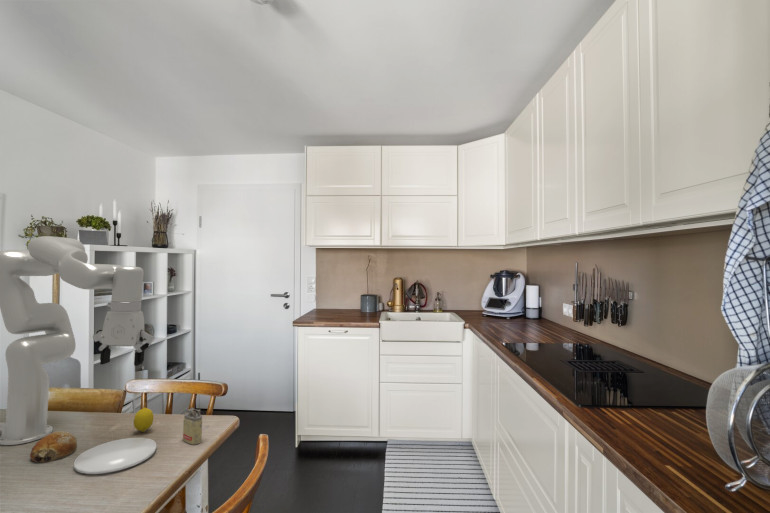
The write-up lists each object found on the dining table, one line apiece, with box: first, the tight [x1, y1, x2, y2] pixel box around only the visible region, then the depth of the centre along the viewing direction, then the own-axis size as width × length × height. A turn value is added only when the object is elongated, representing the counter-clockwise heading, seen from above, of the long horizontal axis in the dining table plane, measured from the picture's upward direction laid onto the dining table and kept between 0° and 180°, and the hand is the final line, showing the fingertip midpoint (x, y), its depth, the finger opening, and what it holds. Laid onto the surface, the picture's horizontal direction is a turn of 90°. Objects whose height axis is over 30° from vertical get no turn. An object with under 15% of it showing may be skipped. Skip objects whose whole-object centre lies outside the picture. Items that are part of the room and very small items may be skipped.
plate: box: [73, 437, 157, 475], centre depth 106 cm, size 19×19×2 cm
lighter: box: [182, 407, 203, 445], centre depth 117 cm, size 7×4×10 cm, turn 59°
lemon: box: [133, 407, 154, 433], centre depth 123 cm, size 6×6×8 cm
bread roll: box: [29, 430, 78, 464], centre depth 107 cm, size 10×10×8 cm
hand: (121, 364), depth 111 cm, fingers open, 9 cm apart
